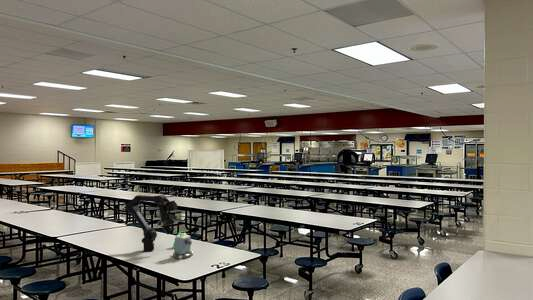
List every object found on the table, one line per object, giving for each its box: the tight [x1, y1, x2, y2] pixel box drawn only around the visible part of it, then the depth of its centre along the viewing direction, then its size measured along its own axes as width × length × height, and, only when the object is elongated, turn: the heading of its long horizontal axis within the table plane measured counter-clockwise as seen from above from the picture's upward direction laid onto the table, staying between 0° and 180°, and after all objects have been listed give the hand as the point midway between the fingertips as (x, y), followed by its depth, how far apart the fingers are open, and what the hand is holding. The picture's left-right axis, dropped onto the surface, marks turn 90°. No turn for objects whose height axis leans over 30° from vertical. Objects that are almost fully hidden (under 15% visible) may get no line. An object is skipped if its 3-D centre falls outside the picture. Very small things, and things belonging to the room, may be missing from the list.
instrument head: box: [173, 232, 193, 254], centre depth 245 cm, size 10×10×13 cm
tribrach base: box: [172, 250, 194, 261], centre depth 246 cm, size 13×13×4 cm
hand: (168, 234), depth 256 cm, fingers closed
